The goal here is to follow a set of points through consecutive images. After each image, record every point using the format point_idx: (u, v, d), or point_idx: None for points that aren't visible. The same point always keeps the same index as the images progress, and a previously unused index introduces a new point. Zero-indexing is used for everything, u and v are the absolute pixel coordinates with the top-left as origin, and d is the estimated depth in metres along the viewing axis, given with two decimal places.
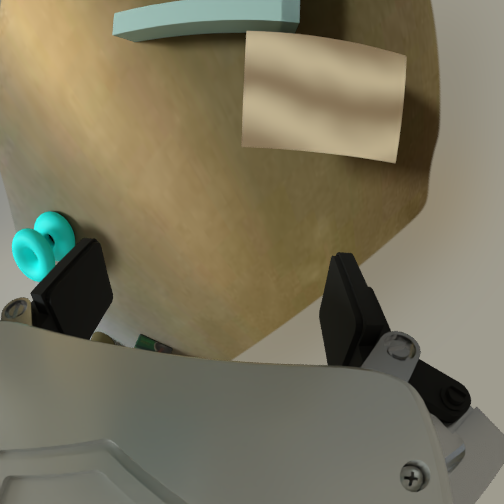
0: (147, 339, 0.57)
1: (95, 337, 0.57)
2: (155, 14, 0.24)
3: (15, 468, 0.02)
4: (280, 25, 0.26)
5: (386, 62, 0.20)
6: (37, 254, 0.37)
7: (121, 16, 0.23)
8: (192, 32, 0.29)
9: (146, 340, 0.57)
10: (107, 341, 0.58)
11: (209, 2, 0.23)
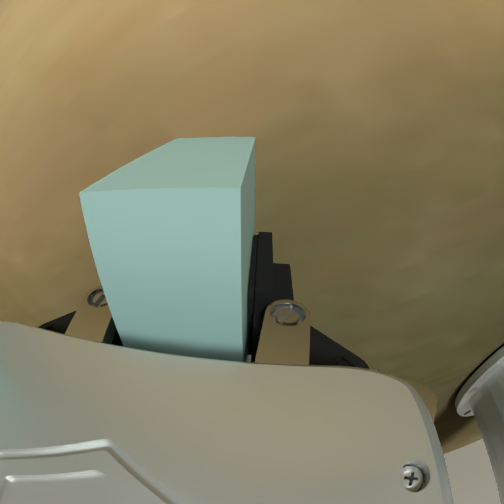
0: None
1: None
2: None
3: (15, 468, 0.02)
4: None
5: None
6: None
7: (201, 244, 0.05)
8: None
9: None
10: None
11: None
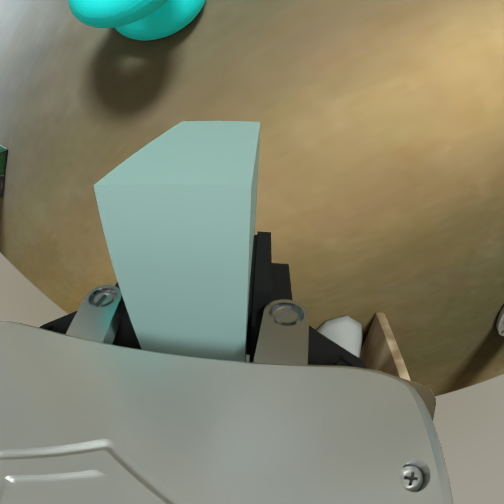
0: (3, 163, 0.27)
1: None
2: None
3: (15, 468, 0.02)
4: None
5: None
6: None
7: (212, 235, 0.06)
8: None
9: (1, 163, 0.26)
10: None
11: None
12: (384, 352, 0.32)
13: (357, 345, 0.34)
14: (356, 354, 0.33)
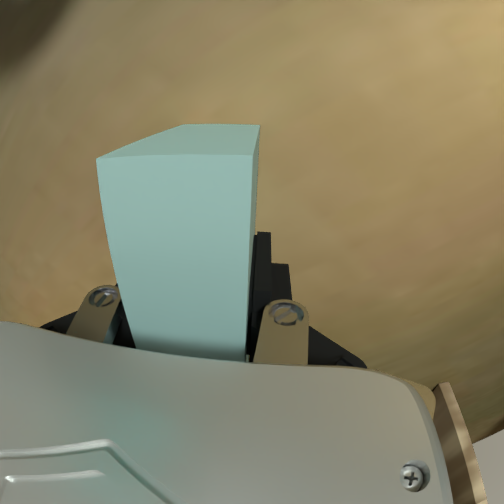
0: None
1: None
2: None
3: (15, 468, 0.02)
4: None
5: None
6: None
7: (212, 209, 0.06)
8: None
9: None
10: None
11: None
12: (449, 446, 0.15)
13: None
14: None
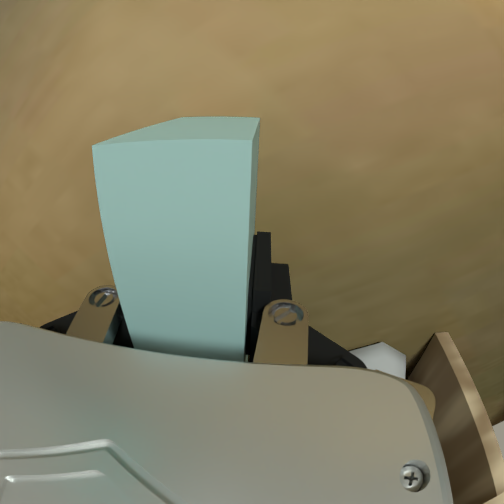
0: None
1: None
2: (190, 356, 0.08)
3: (15, 468, 0.02)
4: None
5: None
6: None
7: (210, 196, 0.05)
8: None
9: None
10: None
11: None
12: (455, 415, 0.12)
13: None
14: None
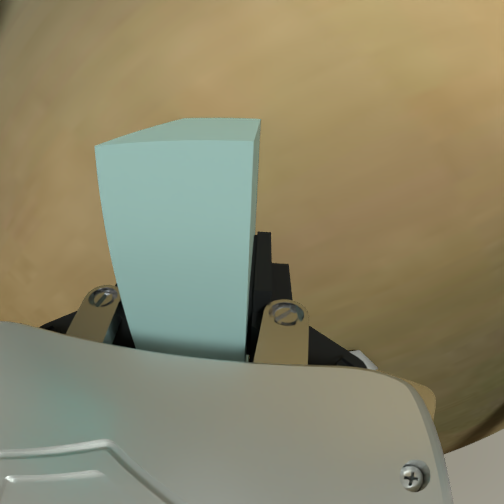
0: None
1: None
2: (191, 355, 0.08)
3: (15, 468, 0.02)
4: None
5: None
6: None
7: (212, 196, 0.05)
8: None
9: None
10: None
11: None
12: None
13: None
14: None
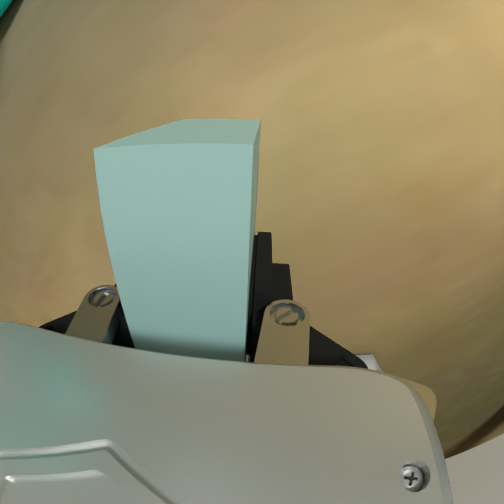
0: None
1: None
2: None
3: (15, 468, 0.02)
4: None
5: None
6: None
7: (211, 200, 0.05)
8: None
9: None
10: None
11: None
12: None
13: None
14: None
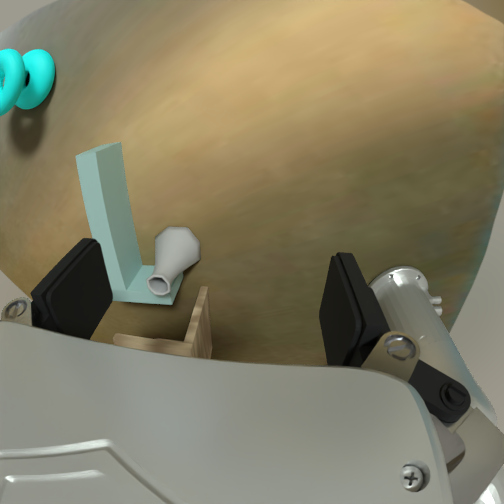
0: None
1: None
2: (93, 197, 0.32)
3: (15, 468, 0.02)
4: None
5: None
6: None
7: (92, 161, 0.30)
8: None
9: None
10: None
11: (108, 241, 0.35)
12: None
13: (185, 254, 0.40)
14: (180, 260, 0.39)
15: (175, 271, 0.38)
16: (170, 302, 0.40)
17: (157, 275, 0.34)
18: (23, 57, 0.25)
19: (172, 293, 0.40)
